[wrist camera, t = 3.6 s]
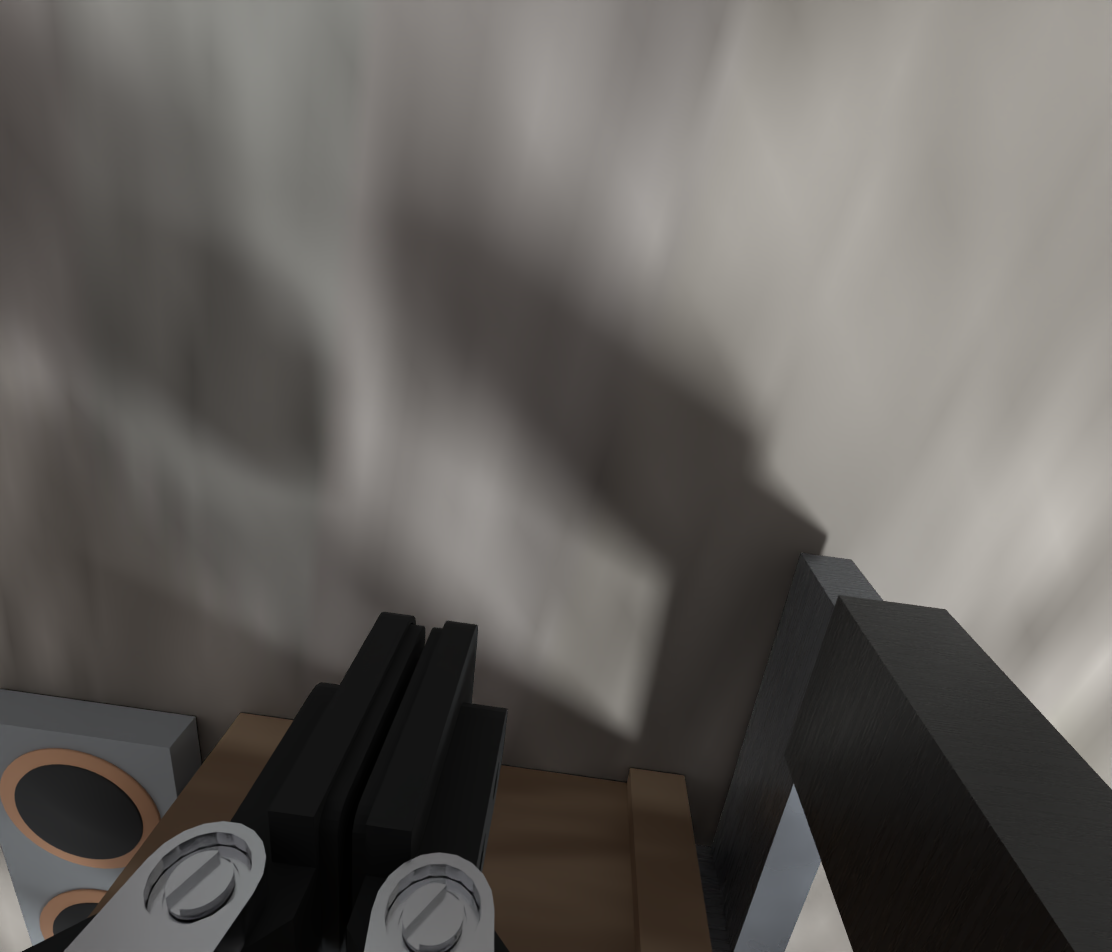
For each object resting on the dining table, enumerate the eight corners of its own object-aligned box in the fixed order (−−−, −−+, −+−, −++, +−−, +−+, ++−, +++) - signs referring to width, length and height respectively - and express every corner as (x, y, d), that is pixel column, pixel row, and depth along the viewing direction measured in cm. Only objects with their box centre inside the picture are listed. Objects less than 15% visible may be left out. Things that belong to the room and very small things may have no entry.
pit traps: (-1, 688, 18) (-46, 722, 17) (195, 716, 18) (165, 752, 17) (70, 943, 23) (39, 985, 22) (228, 966, 23) (206, 1010, 22)
